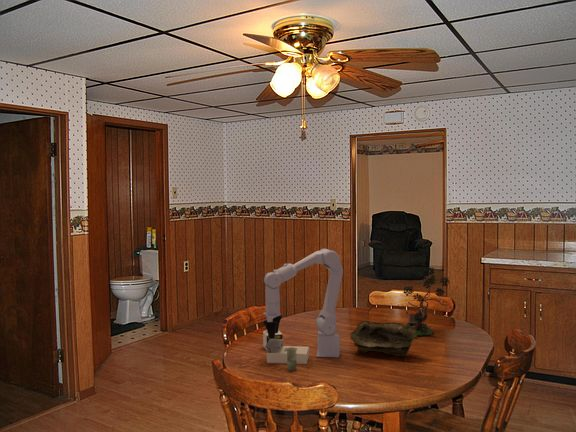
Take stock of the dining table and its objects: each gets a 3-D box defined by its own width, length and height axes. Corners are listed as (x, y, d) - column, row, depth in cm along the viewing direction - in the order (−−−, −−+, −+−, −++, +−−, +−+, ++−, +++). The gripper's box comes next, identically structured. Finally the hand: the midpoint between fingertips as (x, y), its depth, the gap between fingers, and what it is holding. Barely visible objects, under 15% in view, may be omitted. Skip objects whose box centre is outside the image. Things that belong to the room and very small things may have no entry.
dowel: (297, 367, 197) (296, 347, 197) (295, 370, 194) (295, 350, 193) (288, 367, 198) (287, 347, 197) (286, 370, 194) (286, 349, 194)
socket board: (309, 355, 212) (309, 339, 212) (306, 364, 201) (306, 347, 201) (270, 354, 214) (269, 338, 214) (265, 363, 203) (265, 346, 203)
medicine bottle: (266, 351, 219) (266, 323, 219) (263, 346, 226) (262, 319, 226) (282, 349, 221) (282, 322, 221) (278, 345, 228) (278, 318, 228)
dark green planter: (417, 370, 206) (426, 338, 214) (410, 355, 198) (419, 321, 206) (354, 357, 221) (365, 327, 229) (345, 342, 213) (356, 312, 221)
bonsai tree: (450, 342, 228) (449, 272, 227) (394, 338, 236) (394, 270, 235) (450, 323, 261) (450, 262, 260) (402, 320, 269) (401, 261, 268)
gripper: (266, 298, 215) (267, 330, 215) (259, 305, 200) (260, 340, 201) (283, 298, 214) (283, 330, 214) (277, 306, 199) (277, 340, 200)
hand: (273, 335), depth 207 cm, fingers open, 7 cm apart
